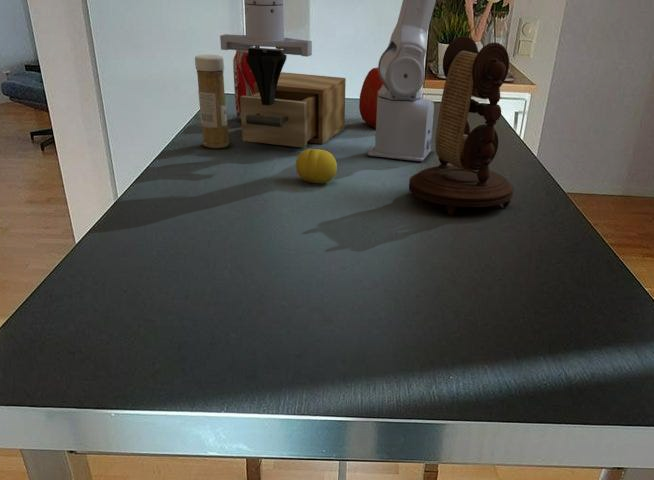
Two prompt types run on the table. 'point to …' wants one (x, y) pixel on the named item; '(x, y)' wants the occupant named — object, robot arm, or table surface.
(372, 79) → the apple
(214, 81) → the sprinkles bottle
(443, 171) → the wooden rope wheel ornament
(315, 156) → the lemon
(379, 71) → the robot arm
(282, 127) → the drawer
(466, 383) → the table surface
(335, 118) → the cabinet
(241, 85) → the soda can
